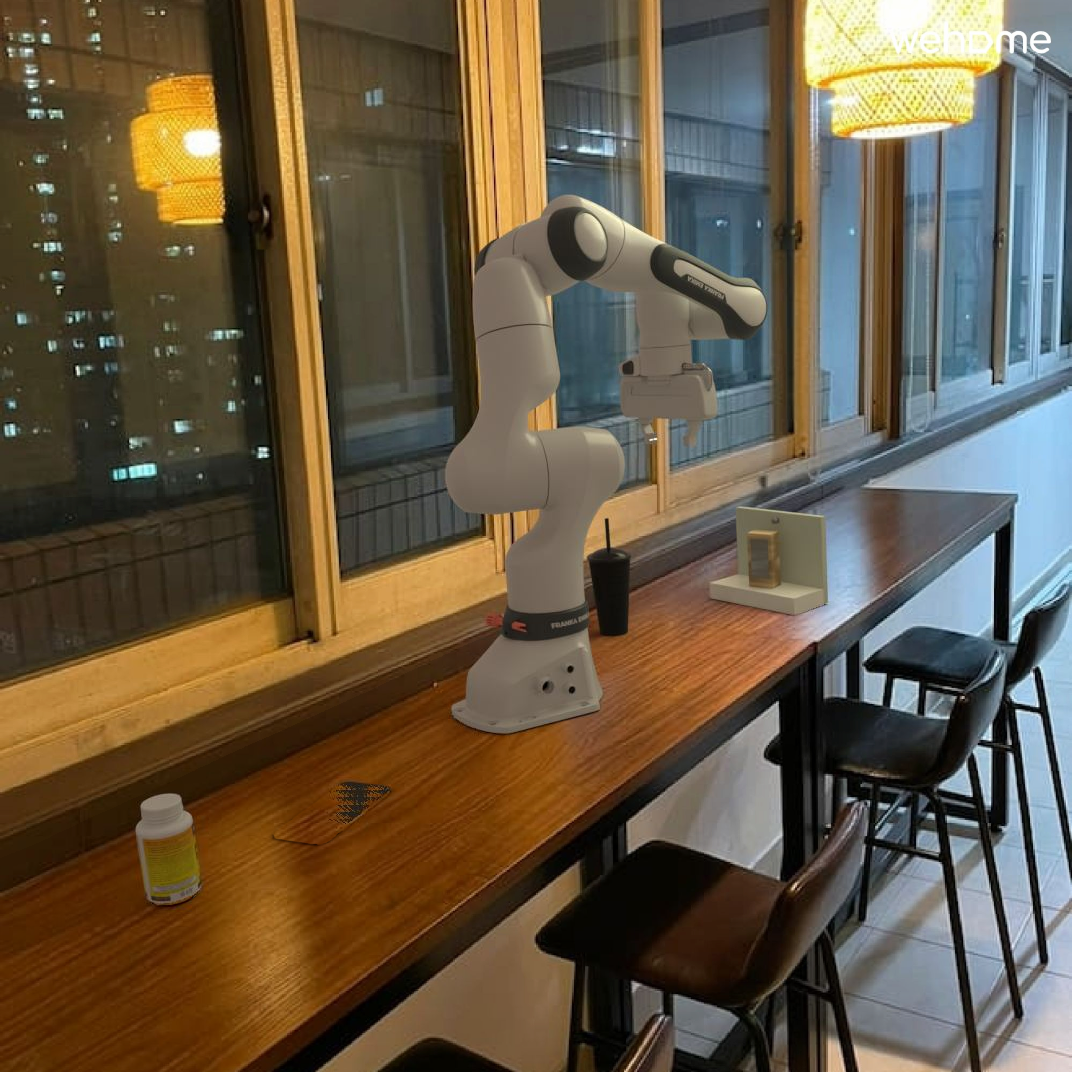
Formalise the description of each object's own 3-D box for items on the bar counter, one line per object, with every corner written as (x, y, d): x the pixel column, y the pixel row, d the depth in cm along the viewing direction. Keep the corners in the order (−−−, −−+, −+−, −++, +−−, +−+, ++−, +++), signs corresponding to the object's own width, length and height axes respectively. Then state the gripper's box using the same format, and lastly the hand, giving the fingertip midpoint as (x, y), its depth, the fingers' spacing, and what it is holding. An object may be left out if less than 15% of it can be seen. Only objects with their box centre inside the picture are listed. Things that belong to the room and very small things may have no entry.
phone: (268, 835, 128) (343, 780, 141) (269, 842, 128) (344, 786, 141) (322, 843, 125) (394, 786, 138) (323, 850, 125) (395, 793, 138)
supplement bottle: (212, 892, 116) (199, 799, 114) (161, 914, 113) (146, 818, 111) (187, 875, 121) (174, 785, 119) (137, 896, 117) (122, 803, 115)
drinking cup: (633, 638, 193) (626, 522, 189) (589, 638, 194) (580, 523, 190) (638, 625, 200) (631, 513, 196) (595, 626, 202) (587, 515, 198)
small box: (772, 589, 205) (770, 534, 204) (748, 586, 208) (746, 533, 207) (780, 585, 208) (778, 531, 206) (757, 582, 211) (754, 529, 209)
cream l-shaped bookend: (794, 615, 199) (791, 525, 195) (710, 598, 214) (705, 514, 211) (828, 603, 204) (825, 516, 201) (743, 587, 220) (739, 506, 217)
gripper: (724, 361, 186) (728, 445, 189) (638, 362, 202) (643, 440, 205) (697, 364, 183) (701, 450, 185) (611, 365, 198) (617, 444, 201)
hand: (670, 444), depth 195 cm, fingers open, 8 cm apart
